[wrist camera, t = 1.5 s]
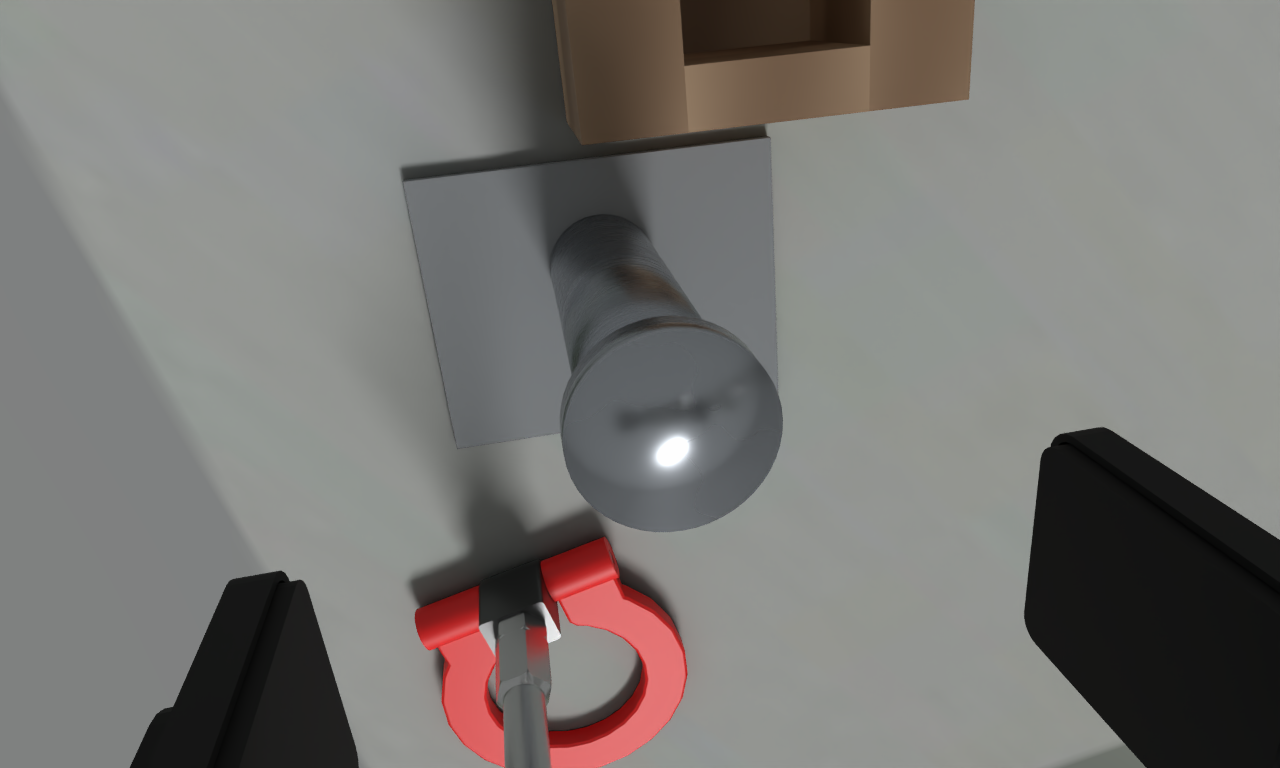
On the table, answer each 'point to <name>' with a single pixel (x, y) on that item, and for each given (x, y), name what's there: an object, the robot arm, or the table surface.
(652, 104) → the block
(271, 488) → the table surface
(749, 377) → the pin
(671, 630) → the tow hook
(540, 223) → the mat
